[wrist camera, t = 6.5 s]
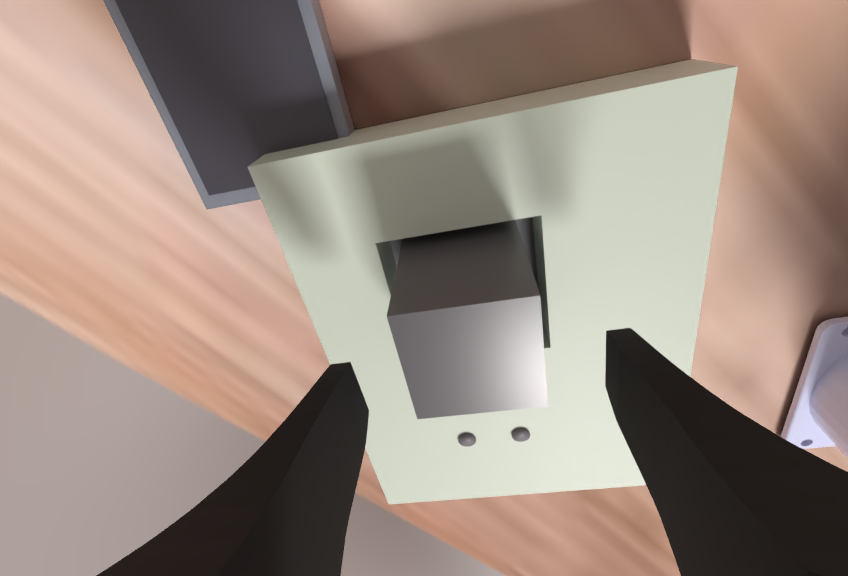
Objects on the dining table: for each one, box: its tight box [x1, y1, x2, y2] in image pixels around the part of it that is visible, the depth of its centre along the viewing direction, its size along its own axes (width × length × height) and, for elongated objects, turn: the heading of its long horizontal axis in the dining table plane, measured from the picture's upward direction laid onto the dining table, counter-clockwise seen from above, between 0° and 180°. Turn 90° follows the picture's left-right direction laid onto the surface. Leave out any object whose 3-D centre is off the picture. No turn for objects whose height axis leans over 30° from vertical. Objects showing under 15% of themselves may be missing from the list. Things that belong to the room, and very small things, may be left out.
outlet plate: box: [248, 59, 738, 504], centre depth 18 cm, size 14×18×3 cm
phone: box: [104, 0, 355, 209], centre depth 13 cm, size 6×11×1 cm, turn 12°
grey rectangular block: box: [387, 220, 548, 419], centre depth 15 cm, size 4×4×6 cm
